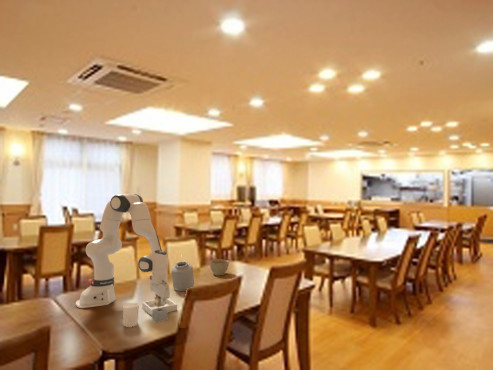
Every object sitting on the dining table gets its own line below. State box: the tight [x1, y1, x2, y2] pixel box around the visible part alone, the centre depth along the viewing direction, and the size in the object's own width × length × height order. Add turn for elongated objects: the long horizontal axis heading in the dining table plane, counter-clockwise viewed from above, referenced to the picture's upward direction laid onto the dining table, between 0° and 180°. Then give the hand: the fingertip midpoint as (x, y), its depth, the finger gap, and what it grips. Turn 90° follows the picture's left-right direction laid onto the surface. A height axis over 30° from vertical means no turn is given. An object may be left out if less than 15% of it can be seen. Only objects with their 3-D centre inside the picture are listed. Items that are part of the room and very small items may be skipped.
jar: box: [170, 253, 195, 292], centre depth 225 cm, size 19×15×25 cm
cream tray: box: [142, 298, 178, 317], centre depth 187 cm, size 15×15×4 cm
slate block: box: [152, 307, 168, 323], centre depth 173 cm, size 6×6×5 cm
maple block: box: [154, 296, 165, 307], centre depth 187 cm, size 4×4×5 cm
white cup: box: [122, 302, 140, 328], centre depth 166 cm, size 8×8×10 cm
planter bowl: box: [209, 258, 230, 276], centre depth 268 cm, size 16×16×11 cm
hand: (159, 302), depth 187 cm, fingers closed on maple block, 4 cm apart
